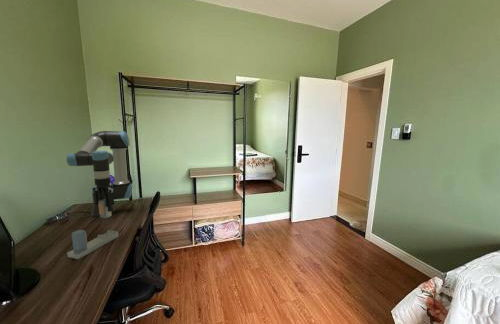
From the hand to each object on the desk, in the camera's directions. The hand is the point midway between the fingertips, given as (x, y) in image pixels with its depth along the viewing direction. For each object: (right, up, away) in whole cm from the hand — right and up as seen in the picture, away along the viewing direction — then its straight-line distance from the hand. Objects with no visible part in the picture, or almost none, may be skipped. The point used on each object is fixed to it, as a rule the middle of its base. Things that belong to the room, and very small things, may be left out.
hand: (105, 215), depth 122 cm
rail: (-2, -16, -5) cm, 17 cm away
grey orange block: (0, 0, 0) cm, 0 cm away
